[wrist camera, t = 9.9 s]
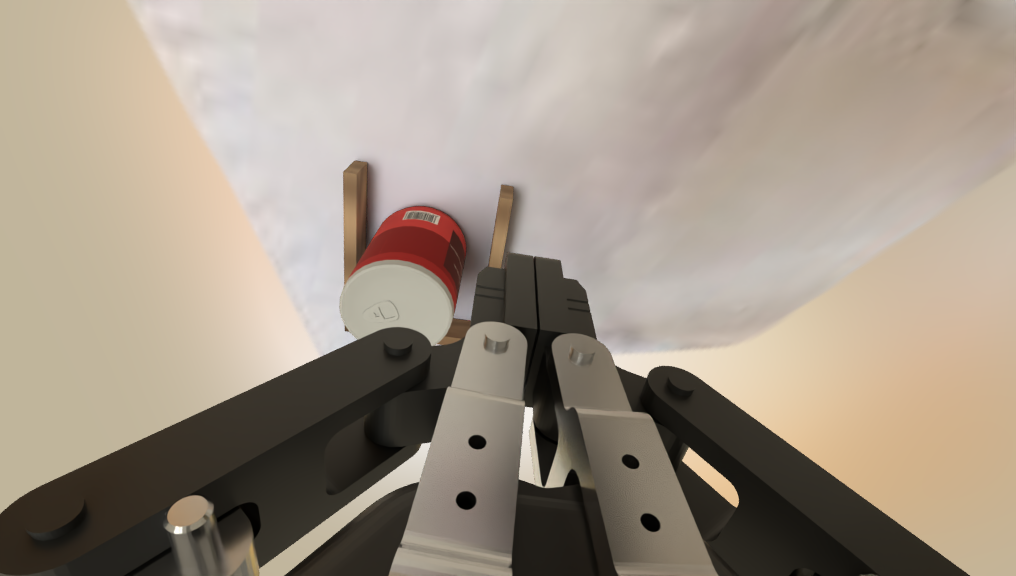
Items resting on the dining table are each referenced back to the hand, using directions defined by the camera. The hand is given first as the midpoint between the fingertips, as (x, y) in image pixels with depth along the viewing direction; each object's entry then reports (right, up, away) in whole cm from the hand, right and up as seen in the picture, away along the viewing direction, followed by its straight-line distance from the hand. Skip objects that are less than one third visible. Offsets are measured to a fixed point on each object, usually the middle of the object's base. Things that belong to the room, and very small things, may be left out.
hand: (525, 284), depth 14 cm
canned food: (-8, +4, +30) cm, 31 cm away
